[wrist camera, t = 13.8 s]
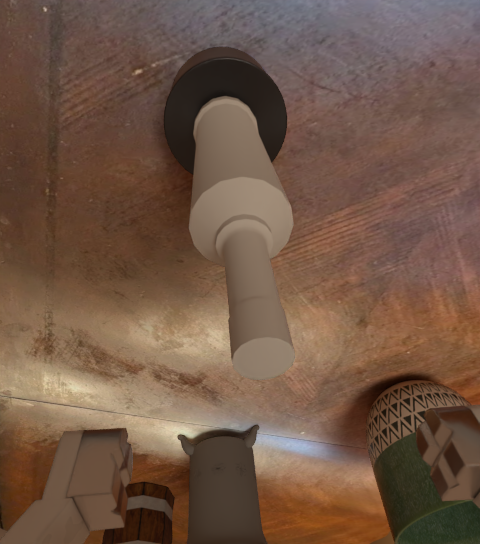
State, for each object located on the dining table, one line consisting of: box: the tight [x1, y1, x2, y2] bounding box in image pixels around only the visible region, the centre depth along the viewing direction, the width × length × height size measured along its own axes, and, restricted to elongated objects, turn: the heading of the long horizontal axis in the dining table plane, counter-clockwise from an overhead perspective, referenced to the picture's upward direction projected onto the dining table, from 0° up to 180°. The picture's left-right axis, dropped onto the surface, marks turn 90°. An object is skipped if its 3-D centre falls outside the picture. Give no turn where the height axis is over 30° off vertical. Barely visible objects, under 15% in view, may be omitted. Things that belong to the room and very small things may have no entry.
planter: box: [366, 380, 480, 544], centre depth 60 cm, size 20×20×21 cm
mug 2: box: [178, 425, 267, 544], centre depth 64 cm, size 19×15×25 cm
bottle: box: [189, 96, 295, 380], centre depth 23 cm, size 5×5×25 cm
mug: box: [102, 482, 174, 544], centre depth 80 cm, size 20×14×15 cm
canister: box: [164, 47, 287, 174], centre depth 35 cm, size 10×10×7 cm
